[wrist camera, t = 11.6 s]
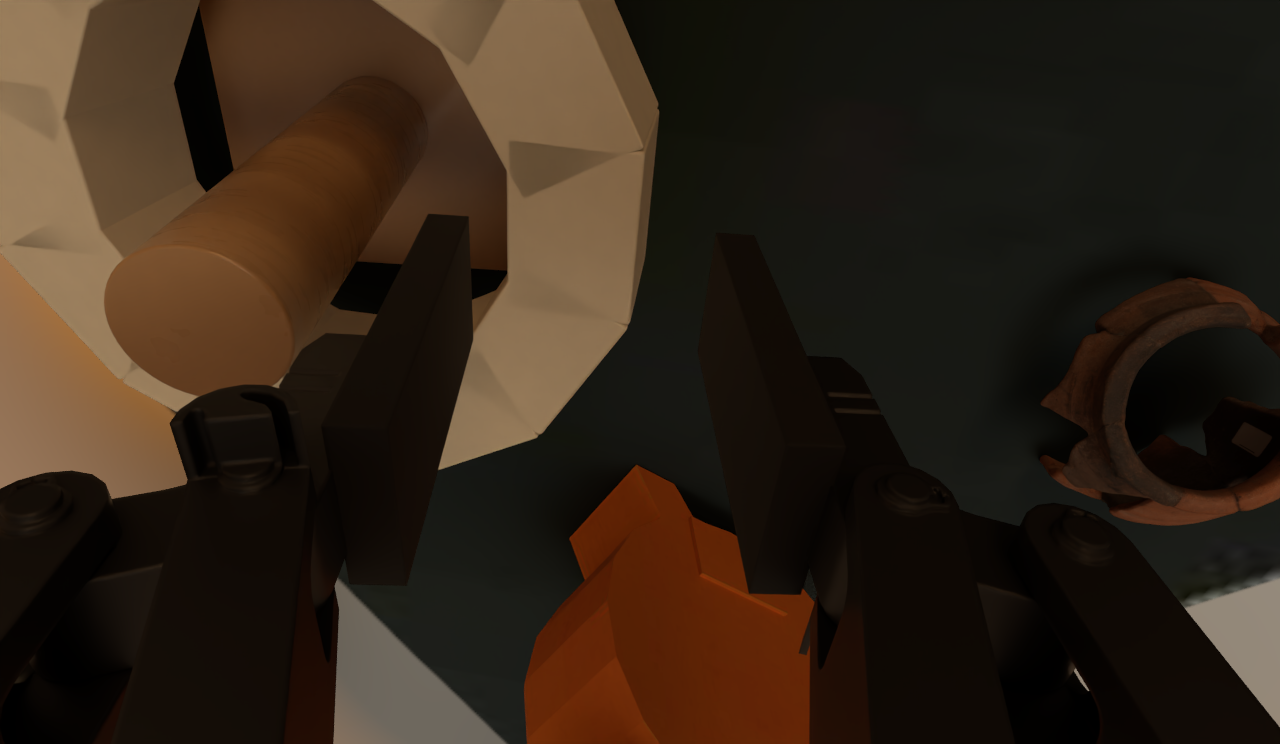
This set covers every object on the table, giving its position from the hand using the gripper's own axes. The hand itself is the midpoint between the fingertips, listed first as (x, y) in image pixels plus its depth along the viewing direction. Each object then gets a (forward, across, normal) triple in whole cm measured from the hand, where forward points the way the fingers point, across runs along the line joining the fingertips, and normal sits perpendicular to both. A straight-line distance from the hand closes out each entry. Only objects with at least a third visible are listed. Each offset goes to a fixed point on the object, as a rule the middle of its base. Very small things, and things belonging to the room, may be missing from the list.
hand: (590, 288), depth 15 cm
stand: (+11, -6, 0) cm, 13 cm away
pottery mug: (+11, +23, -8) cm, 27 cm away
